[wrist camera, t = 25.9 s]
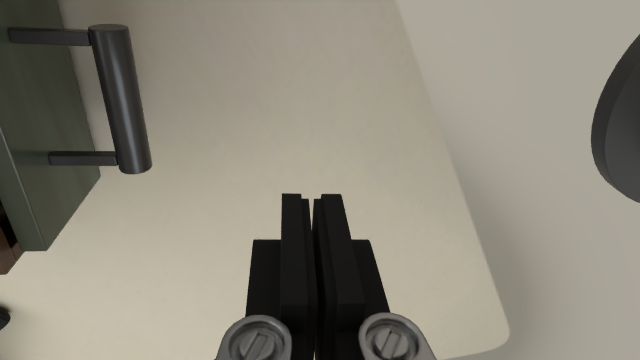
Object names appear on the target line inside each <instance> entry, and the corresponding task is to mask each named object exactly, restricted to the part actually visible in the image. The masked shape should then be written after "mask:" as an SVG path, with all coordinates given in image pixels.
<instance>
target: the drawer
mask: <svg viewBox="0 0 640 360" xmlns="http://www.w3.org/2000/svg"><path fill="white" fill-rule="evenodd" d="M91 45H92V49H93V54H94V58H95V62H96V67H97V71H98V76H99V80H100V85H101V89H102V94H103V98H104V103H105V107H106V112H107V116H108V121H109V125H110V130H111V134H112V138H113V143H114V147H115V151H94V147H93V143H92V139H91V135H90V131H89V127H88V124H87V120H86V116H85V112H84V108H83V104H82V100H81V96H80V92H79V88H78V84H77V80H76V76H75V72H74V68H73V64H72V60H71V57H70V53H69V49H68V46H91ZM117 165H119V169H120V171H121V172H123V173H125V174H139V173H143V172H146V171H148V170H149V169H150V168H151V167H152V159H151V154H150V148H149V142H148V136H147V131H146V125H145V119H144V113H143V108H142V102H141V96H140V90H139V85H138V79H137V73H136V67H135V62H134V56H133V50H132V44H131V39H130V33H129V28H128V27H127V26H125V25H119V24H99V25H93V26H90V27H88V30H78V29H63V25H62V21H61V17H60V13H59V9H58V5H57V1H56V0H0V222H1V221H2V220H3V219H4V218H5V217H6V216H7V217H8V220H9V222H10V224H11V227H12V229H13V231H14V234H15V236H16V239H17V241H18V243H19V246H20V248H21V251H47V250H48V249H49V247H50V246H51V244H52V243H53V242H54V240H55V239H56V238H57V236H58V235H59V233H60V232H61V231H62V229H63V228H64V227H65V225H66V224H67V222H68V221H69V220H70V218H71V217H72V215H73V214H74V213H75V211H76V210H77V209H78V207H79V206H80V204H81V203H82V202H83V200H84V199H85V197H86V196H87V195H88V193H89V192H90V191H91V189H92V188H93V186H94V185H95V184H96V182H97V181H98V180H99V178H100V177H101V175H100V171H99V167H98V166H117Z"/></svg>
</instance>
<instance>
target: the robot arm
mask: <svg viewBox="0 0 640 360" xmlns="http://www.w3.org/2000/svg"><path fill="white" fill-rule="evenodd" d="M314 352H315V360H437V359H436V357H435V356H434V354H433V352H432V350H431V348H430V346H429V344H428V342H427V340H426V338H425V337H424V335H423V333H422V332H421V330H420V329H419V328H418V326H417V325H415V324H414V323H413V322H412V321H411V320H409V319H407V318H405V317H403V316H401V315H398V314H394V313H390V309H389V306H388V302H387V299H386V295H385V292H384V288H383V285H382V281H381V278H380V274H379V271H378V267H377V264H376V260H375V257H374V253H373V250H372V246H371V243H370V241H369V240H351V235H350V231H349V227H348V222H347V218H346V213H345V209H344V204H343V200H342V196H341V194H322V195H321V199H314V206H313V221H312V230H311V219H310V208H309V199H301V194H284V193H282V220H281V240H253V247H252V257H251V267H250V276H249V286H248V295H247V305H246V315H245V318H242V319H240V320H239V321H237V322H235V323H234V324H233V325H232V326H231V327H230V328H229V329H228V330H227V331H226V333H225V335H224V337H223V339H222V341H221V344H220V347H219V350H218V353H217V356H216V359H215V360H314Z"/></svg>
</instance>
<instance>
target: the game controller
mask: <svg viewBox="0 0 640 360" xmlns="http://www.w3.org/2000/svg"><path fill="white" fill-rule="evenodd" d="M10 318H11V317H10V315H9V313H8V312H7V311H5V310H3V309H0V330H1V329H2V328H4V327H5V326H6V325H7V324H8V322H9V321H10Z"/></svg>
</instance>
